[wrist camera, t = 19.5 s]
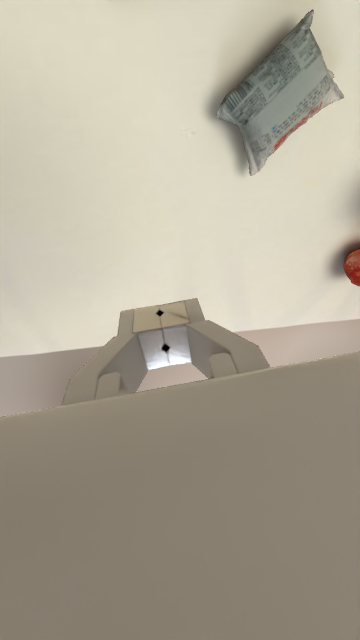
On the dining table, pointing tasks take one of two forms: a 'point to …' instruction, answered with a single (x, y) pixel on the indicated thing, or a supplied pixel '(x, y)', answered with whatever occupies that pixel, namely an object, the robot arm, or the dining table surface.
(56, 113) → the dining table surface
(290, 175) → the dining table surface
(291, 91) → the packaged food
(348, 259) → the pomegranate
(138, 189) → the dining table surface
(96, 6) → the dining table surface
